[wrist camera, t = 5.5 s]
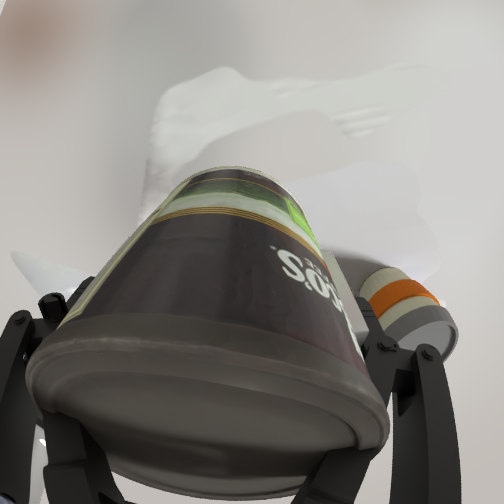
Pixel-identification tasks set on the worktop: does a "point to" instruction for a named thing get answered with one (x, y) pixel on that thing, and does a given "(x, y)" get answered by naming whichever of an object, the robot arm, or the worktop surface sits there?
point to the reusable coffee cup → (409, 312)
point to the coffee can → (214, 348)
